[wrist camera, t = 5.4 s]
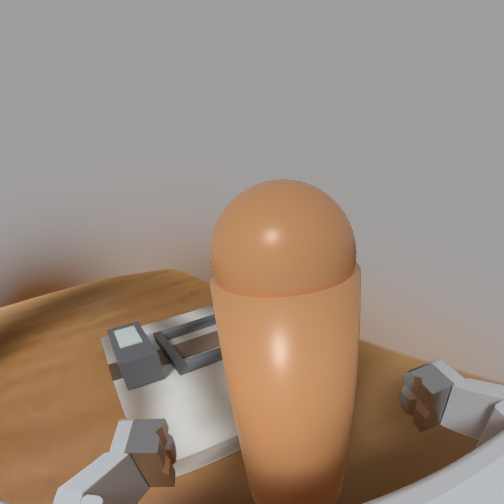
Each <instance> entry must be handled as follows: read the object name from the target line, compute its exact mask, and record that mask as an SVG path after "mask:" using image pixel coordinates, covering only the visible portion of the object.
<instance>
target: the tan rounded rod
mask: <svg viewBox="0 0 504 504" xmlns="http://www.w3.org/2000/svg"><path fill="white" fill-rule="evenodd" d="M210 263H211V268H212V272H213V275H212V277H211V278H210V289H211V295H212V301H213V308H214V314H215V320H216V325H217V331H218V337H219V343H220V348H221V354H222V359H223V364H224V370H225V375H226V380H227V385H228V390H229V395H230V400H231V405H232V410H233V415H234V420H235V425H236V429H237V434H238V439H239V443H240V448H241V452H242V456H243V461H244V465H245V469H246V474H247V478H248V482H249V486H250V490H251V494H252V498H253V500H254V502H255V504H335V503H336V502H337V501H338V499H339V497H340V495H341V492H342V487H343V482H344V476H345V470H346V464H347V458H348V452H349V445H350V438H351V430H352V422H353V413H354V404H355V394H356V382H357V369H358V354H359V334H360V290H361V289H360V288H361V287H360V285H361V284H360V282H361V280H360V279H361V278H360V267H359V265H358V264H357V263H356V244H355V238H354V234H353V230H352V227H351V225H350V222H349V220H348V218H347V217H346V215H345V213H344V212H343V210H342V209H341V208H340V206H339V205H338V204H337V203H336V202H335V201H334V200H333V199H332V198H331V197H330V196H328V195H327V194H326V193H324V192H323V191H322V190H320V189H318V188H316V187H314V186H312V185H309V184H307V183H303V182H300V181H295V180H285V179H284V180H272V181H266V182H263V183H259V184H256V185H254V186H252V187H250V188H248V189H246V190H245V191H243V192H241V193H240V194H239V195H238V196H236V197H235V198H234V199H233V200H232V201H231V202H230V203H229V204H228V205H227V206H226V207H225V209H224V210H223V212H222V213H221V215H220V217H219V218H218V220H217V222H216V224H215V228H214V230H213V233H212V239H211V244H210Z"/></svg>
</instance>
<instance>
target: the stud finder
mask: <svg viewBox="0 0 504 504" xmlns="http://www.w3.org/2000/svg"><path fill="white" fill-rule="evenodd" d="M107 332H108V336H109V339H110V342H111V345H112V348H113V351H114V354H115V357H116V360H117V363H118V366H119V368H120V371H121V374H122V376H123V379H124V382H125V384H126V387H127V389H128V390H130V389H133V388H136V387H139V386H143V385H146V384H149V383H152V382H155V381H158V380H161V379H164V378H165V376H164V372H163V369H162V365H161V362H160V358H159V355H158V352H157V351H156V349H155V348H154V346H153V344H152V343H151V341H150V340H149V338H148V337H147V335H146V333H145V332H144V330H143V329H142V327H141V325H140V324H139V322H135V323H131V324H127V325H124V326H120V327H117V328H113V329H109V330H107Z"/></svg>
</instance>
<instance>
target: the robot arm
mask: <svg viewBox="0 0 504 504" xmlns="http://www.w3.org/2000/svg"><path fill="white" fill-rule="evenodd" d="M403 382H404V384H405V386H404V387H403V388H402V390H401V393H400V403H401V406H402V408H403V410H404V411H405V413H406V414H409V415H412V416H413V419H412V421H413V423H414V424H415V425H416V426H417V427H418V429H419V430H420V431H421V432H422V431H425V430H427V429H429V428H432V427H434V426H436V425H438V424H440V425H441V426H444V427H446V428H448V429H451V430H453V431H455V432H458V433H460V434H462V435H465V436H467V437H469V438H472V439H474V440H477V441H478V443H477V445H476V447H475V449H474V450H473V451H471V452H470V453H468V454H467V455H465V456H463V457H462V458H460V459H458V460H456V461H455V462H453V463H451V464H449V465H448V466H446V467H444V468H442V469H440V470H438V471H436V472H435V473H433V474H431V475H429V476H427V477H425V478H423V479H420V480H418V481H416V482H414V483H412V484H410V485H408V486H405V487H403V488H401V489H398V490H396V491H394V492H391V493H389V494H386V495H384V496H381V497H379V498H376V499H373V500H370V501H368V502H365V503H362V504H504V385H500V384H495V383H490V382H485V381H480V380H476V379H471V378H467V379H465V378H464V377H462V376H461V375H460V374H459V373H458V372H456V371H455V370H454V369H453V368H452V367H450V366H449V365H448V364H447V363H446V362H444V361H443V360H441V359H438V360H435V361H433V362H430V363H428V364H426V365H423V366H420V367H418V368H415V369H412V370H410V371H407V372H406V373H405V374H404V377H403ZM168 429H169V426H168V424H167V422H166V420H165V419H121V420H120V421H119V422H118V425H117V428H116V431H115V435H114V438H113V441H112V444H111V448H110V451H109V453H104V454H102V455H101V456H100V457H99V458H97V459H96V460H95V461H93V462H92V463H91V464H90V465H88V466H87V467H86V468H84V469H83V470H82V471H80V472H79V473H78V474H76V475H75V476H74V477H72V478H71V479H70V480H68V481H67V482H66V483H64V484H63V485H62V486H60V487H59V488H58V490H57V493H56V496H55V499H54V501H53V504H137V503H138V502H139V501H140V499H141V498H142V497H143V496H144V495H145V493H146V492H147V491H148V490H149V489H150V488H149V487H175V469H174V467H173V464H174V463H175V462H176V456H177V455H176V446H175V442H174V439H173V437H172V436H171V435H170V434H168ZM0 504H11V503H8V502H6V501H3V500H0Z"/></svg>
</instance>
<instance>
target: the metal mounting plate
mask: <svg viewBox="0 0 504 504" xmlns="http://www.w3.org/2000/svg"><path fill="white" fill-rule="evenodd" d="M141 327H142V329H143V330H144V332H145V333H146V335H147V337H148V338H149V340H150V341H151V343H152V344H153V346H154V348H155V349H156V351H157V352H158V355H159V358H160V362H161V365H162V369H163V372H164V376H165V378H164V379H161V380H158V381H155V382H152V383H149V384H146V385H143V386H139V387H136V388H133V389H130V390H128V389H127V387H126V384H125V382H124V379H123V376H122V374H121V371H120V368H119V366H118V363H117V360H116V357H115V354H114V351H113V348H112V345H111V342H110V339H109V336H105V337H101V340H102V344H103V348H104V352H105V355H106V359H107V362H108V366H109V369H110V372H111V376H112V379H113V382H114V385H115V388H116V391H117V394H118V397H119V400H120V403H121V405H122V408H123V411H124V414H125V416H126V419H165V420H166V422H167V424H168V426H169V429H168V434H170V435H171V436H172V437H173V439H174V442H175V446H176V455H177V456H176V462H175V463H174V464H173V467H174V469H175V478H176V477H178V476H181V475H184V474H186V473H189V472H192V471H194V470H197V469H199V468H201V467H204V466H206V465H209V464H211V463H213V462H216V461H218V460H220V459H222V458H225V457H227V456H229V455H231V454H233V453H236V452H238V451H240V450H241V448H240V443H239V439H238V434H237V429H236V425H235V420H234V415H233V410H232V405H231V400H230V395H229V390H228V385H227V380H226V375H225V370H224V364H223V359H222V354H221V348H220V343H219V337H218V331H217V325H216V320H215V314H214V308H213V305H211V306H208V307H205V308H201V309H198V310H195V311H191V312H188V313H185V314H181V315H178V316H175V317H171V318H168V319H165V320H161V321H158V322H154V323H151V324H147V325H144V326H141Z"/></svg>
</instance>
